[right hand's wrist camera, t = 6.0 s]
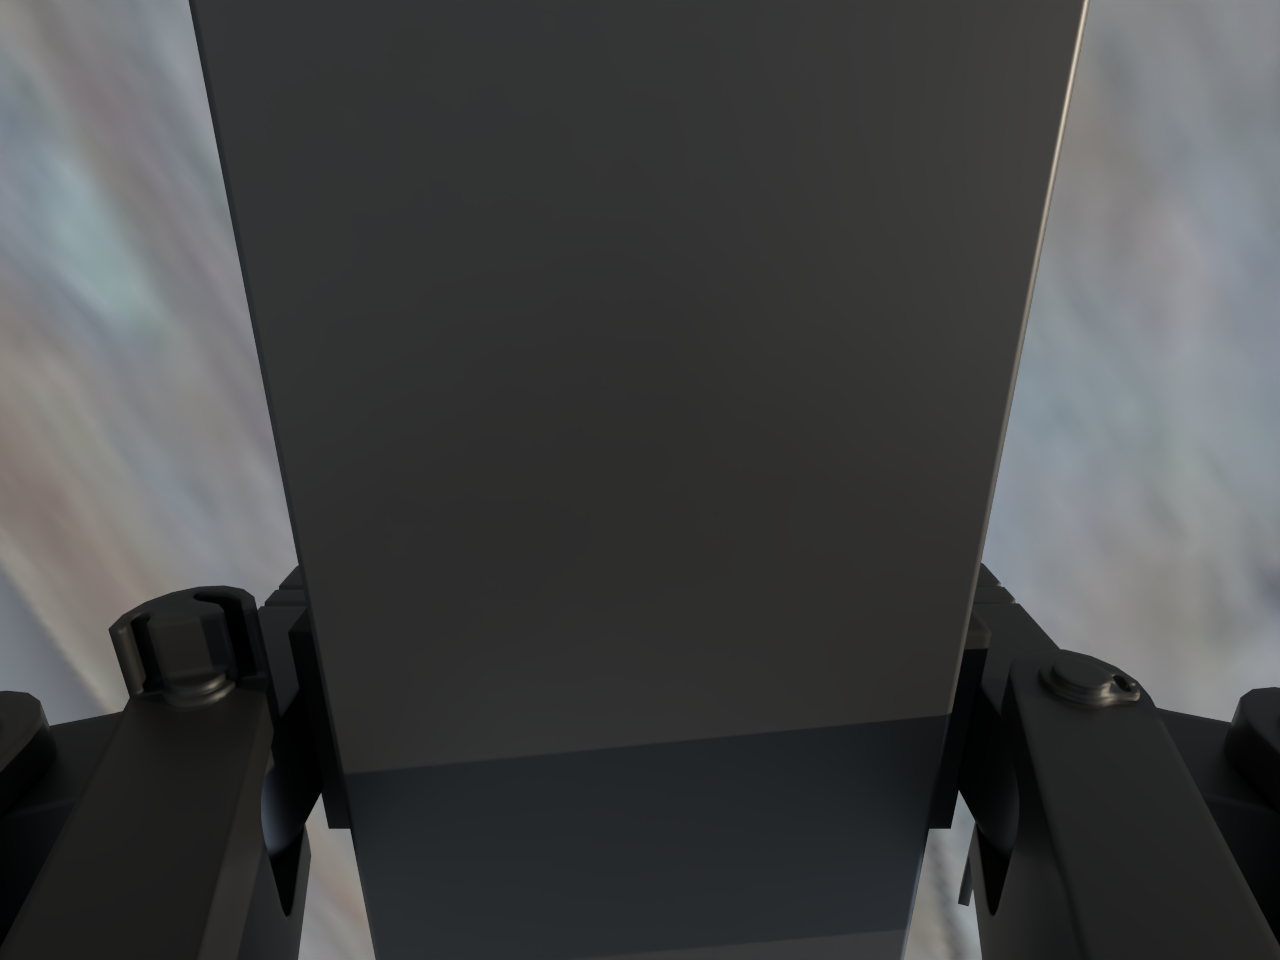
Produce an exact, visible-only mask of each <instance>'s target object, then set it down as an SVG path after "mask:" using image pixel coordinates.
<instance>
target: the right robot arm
mask: <svg viewBox="0 0 1280 960" xmlns="http://www.w3.org/2000/svg"><path fill="white" fill-rule="evenodd" d="M108 630H109V633H110V636H111V639H112V642H113V645H114V649H115V652H116V655H117V658H118V661H119V664H120V668H121V671H122V674H123V677H124V680H125V683H126V687H127V690H128V693H129V696H130V699H129V700H128V702H127V704H126V706H125V708H124V710H123V711H121V712H117V713H113V714H108V715H103V716H98V717H93V718H88V719H83V720H78V721H73V722H68V723H62V724H57V725H52V726H49V724H48V721H47V719H46V716H45V713H44V711H43V708H42V705H41V702H40V701H39V700H38V699H36V698H35V697H33V696H32V695H30V694H29V693H24V692H14V691H0V960H298V955H299V947H300V939H301V931H302V923H303V916H304V908H305V900H306V892H307V884H308V876H309V868H310V861H311V851H310V844H309V838H308V834H307V830H306V825H305V822H306V820H307V818H308V817H309V815H310V813H311V811H312V809H313V807H314V805H315V803H316V801H317V799H318V797H319V795H320V794H322V798H323V803H324V808H325V813H326V817H327V822H328V827H329V829H350V825H349V820H348V815H347V810H346V804H345V799H344V794H343V789H342V784H341V779H340V774H339V769H338V763H337V758H336V753H335V748H334V743H333V738H332V733H331V728H330V722H329V717H328V712H327V707H326V702H325V697H324V692H323V687H322V681H321V676H320V671H319V666H318V661H317V656H316V651H315V646H314V640H313V635H312V630H311V625H310V620H309V615H308V610H307V604H306V599H305V594H304V589H303V584H302V579H301V574H300V569H299V565H298V566H297V567H296V568H295V569H294V570H293V571H292V572H291V573H290V574H289V576H288V577H287V578H286V579H285V580H284V581H283V582H282V583H281V584H280V586H279V590H275V591H274V592H273V593H272V595H271V596H270V597H269V598H268V599H267V600H266V601H265V606H261V607H260V608H259V609H258V610H257V607H256V603H255V598H254V596H252V595H251V594H249V593H248V592H247V591H245V590H244V589H240V588H235V587H229V586H204V587H195V588H191V589H186V590H181V591H176V592H172V593H169V594H166V595H163V596H161V597H158V598H155V599H153V600H150V601H147V602H145V603H143V604H141V605H139V606H138V607H136V608H134V609H132V610H131V611H129V612H127V613H125V614H124V615H122V616H121V617H120V618H119V619H118V620H117V621H116V622H115V623H114V624H113V625H112V626H111V627H110V628H109V629H108ZM958 791H960V793H961V794H962V796H963V798H964V800H965V802H966V804H967V806H968V808H969V810H970V812H971V814H972V815H973V817H974V819H975V825H974V830H973V834H972V838H971V843H970V847H969V852H968V856H967V861H966V865H965V870H964V874H963V878H962V883H961V887H960V894H959V900H958V904H962V905H966V906H969V902H970V897H971V893H972V890H974V898H975V906H976V914H977V921H978V929H979V937H980V945H981V953H982V960H1280V688H1277V687H1270V688H1261V689H1252V690H1251V691H1249V692H1248V693H1246V694H1245V695H1243V696H1242V697H1241V698H1240V701H1239V703H1238V706H1237V709H1236V711H1235V714H1234V717H1233V719H1232V722H1231V723H1230V722H1225V721H1220V720H1215V719H1210V718H1204V717H1199V716H1194V715H1189V714H1184V713H1179V712H1174V711H1168V710H1164V709H1160V708H1156V707H1155V705H1154V703H1153V701H1152V699H1151V697H1150V696H1149V695H1148V693H1147V692H1146V691H1145V690H1144V689H1143V687H1142V686H1141V685H1140V684H1139V683H1138V681H1136V680H1135V679H1133V678H1132V677H1130V676H1129V675H1127V674H1126V673H1124V672H1123V671H1122V670H1120V669H1119V668H1117V667H1115V666H1113V665H1111V664H1108V663H1106V662H1104V661H1101V660H1099V659H1097V658H1094V657H1092V656H1089V655H1085V654H1080V653H1076V652H1072V651H1068V650H1062V649H1059V647H1058V646H1057V645H1056V644H1055V643H1054V642H1053V641H1052V640H1051V639H1050V637H1049V636H1048V635H1047V634H1046V633H1045V632H1044V631H1043V630H1042V629H1041V627H1040V626H1039V625H1038V624H1037V623H1036V622H1035V621H1034V620H1033V619H1032V617H1031V616H1030V615H1029V614H1028V613H1027V612H1026V611H1025V610H1024V609H1023V607H1022V606H1021V605H1020V604H1016V603H1015V599H1014V597H1013V596H1012V595H1011V594H1010V593H1009V592H1008V591H1007V590H1006V589H1005V587H1001V583H1000V582H999V581H998V580H997V578H996V577H995V576H994V575H993V574H992V573H991V572H990V571H989V570H988V568H987V567H986V566H985V565H984V564H982V563H981V564H980V569H979V574H978V580H977V585H976V590H975V595H974V600H973V605H972V610H971V616H970V621H969V626H968V631H967V636H966V641H965V646H964V652H963V657H962V662H961V667H960V672H959V677H958V682H957V688H956V693H955V698H954V703H953V708H952V713H951V718H950V723H949V729H948V734H947V739H946V744H945V749H944V754H943V759H942V765H941V770H940V775H939V780H938V785H937V790H936V795H935V801H934V806H933V811H932V816H931V821H930V826H929V829H951V824H952V820H953V815H954V810H955V805H956V801H957V796H958Z"/></svg>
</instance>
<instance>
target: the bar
mask: <svg viewBox="0 0 1280 960" xmlns="http://www.w3.org/2000/svg"><path fill="white" fill-rule="evenodd" d="M1089 4H1090V0H189V5H190V10H191V15H192V20H193V25H194V30H195V35H196V41H197V46H198V51H199V56H200V61H201V66H202V71H203V76H204V82H205V87H206V92H207V97H208V102H209V107H210V112H211V117H212V123H213V128H214V133H215V138H216V143H217V148H218V153H219V158H220V164H221V169H222V174H223V179H224V184H225V189H226V194H227V199H228V205H229V210H230V215H231V220H232V225H233V230H234V235H235V240H236V246H237V251H238V256H239V261H240V266H241V271H242V276H243V282H244V287H245V292H246V297H247V302H248V307H249V312H250V317H251V323H252V328H253V333H254V338H255V343H256V348H257V353H258V358H259V364H260V369H261V374H262V379H263V384H264V389H265V394H266V399H267V405H268V410H269V415H270V420H271V425H272V430H273V435H274V440H275V446H276V451H277V456H278V461H279V466H280V471H281V476H282V481H283V487H284V492H285V497H286V502H287V507H288V512H289V517H290V522H291V528H292V533H293V538H294V543H295V548H296V553H297V558H298V563H299V569H300V574H301V579H302V584H303V589H304V594H305V599H306V604H307V610H308V615H309V620H310V625H311V630H312V635H313V640H314V646H315V651H316V656H317V661H318V666H319V671H320V676H321V681H322V687H323V692H324V697H325V702H326V707H327V712H328V717H329V722H330V728H331V733H332V738H333V743H334V748H335V753H336V758H337V763H338V769H339V774H340V779H341V784H342V789H343V794H344V799H345V804H346V810H347V815H348V820H349V825H350V830H351V835H352V840H353V845H354V851H355V856H356V861H357V866H358V871H359V876H360V881H361V886H362V892H363V897H364V902H365V907H366V912H367V917H368V922H369V927H370V933H371V938H372V943H373V948H374V953H375V958H376V960H904V955H905V950H906V944H907V939H908V934H909V929H910V924H911V919H912V914H913V909H914V903H915V898H916V893H917V888H918V883H919V878H920V873H921V867H922V862H923V857H924V852H925V847H926V842H927V837H928V831H929V826H930V821H931V816H932V811H933V806H934V801H935V795H936V790H937V785H938V780H939V775H940V770H941V765H942V759H943V754H944V749H945V744H946V739H947V734H948V729H949V723H950V718H951V713H952V708H953V703H954V698H955V693H956V688H957V682H958V677H959V672H960V667H961V662H962V657H963V652H964V646H965V641H966V636H967V631H968V626H969V621H970V616H971V610H972V605H973V600H974V595H975V590H976V585H977V580H978V574H979V569H980V564H981V559H982V554H983V549H984V544H985V538H986V533H987V528H988V523H989V518H990V513H991V508H992V502H993V497H994V492H995V487H996V482H997V477H998V472H999V467H1000V461H1001V456H1002V451H1003V446H1004V441H1005V436H1006V431H1007V425H1008V420H1009V415H1010V410H1011V405H1012V400H1013V395H1014V389H1015V384H1016V379H1017V374H1018V369H1019V364H1020V359H1021V353H1022V348H1023V343H1024V338H1025V333H1026V328H1027V323H1028V317H1029V312H1030V307H1031V302H1032V297H1033V292H1034V287H1035V281H1036V276H1037V271H1038V266H1039V261H1040V256H1041V251H1042V246H1043V240H1044V235H1045V230H1046V225H1047V220H1048V215H1049V210H1050V204H1051V199H1052V194H1053V189H1054V184H1055V179H1056V174H1057V168H1058V163H1059V158H1060V153H1061V148H1062V143H1063V138H1064V132H1065V127H1066V122H1067V117H1068V112H1069V107H1070V102H1071V96H1072V91H1073V86H1074V81H1075V76H1076V71H1077V66H1078V61H1079V55H1080V50H1081V45H1082V40H1083V35H1084V30H1085V25H1086V19H1087V14H1088V9H1089Z"/></svg>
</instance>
